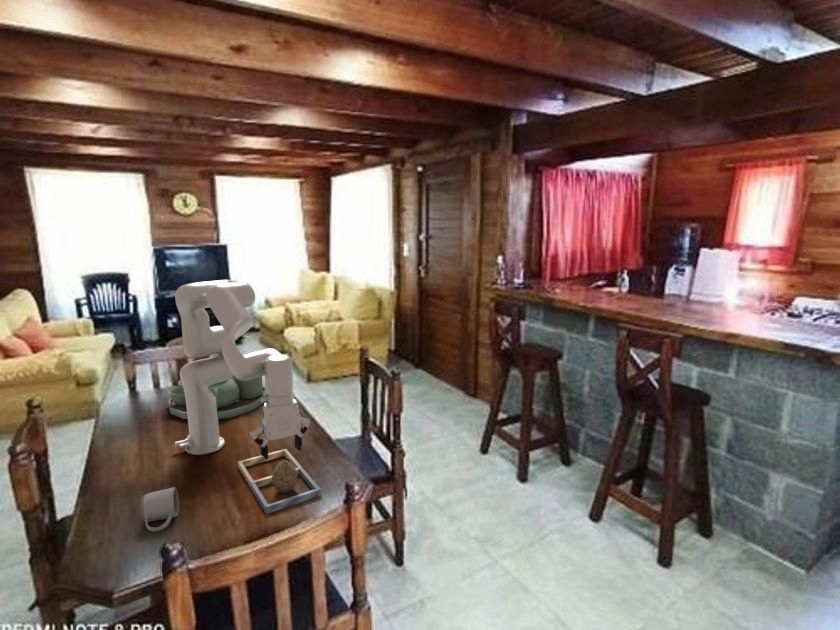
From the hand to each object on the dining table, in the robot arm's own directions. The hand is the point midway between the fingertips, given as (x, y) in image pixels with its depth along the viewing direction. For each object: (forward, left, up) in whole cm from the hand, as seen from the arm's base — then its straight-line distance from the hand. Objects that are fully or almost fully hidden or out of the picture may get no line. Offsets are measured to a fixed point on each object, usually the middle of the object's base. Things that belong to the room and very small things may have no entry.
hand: (281, 452), depth 140 cm
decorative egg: (0, 0, -13) cm, 13 cm away
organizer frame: (0, +7, -12) cm, 14 cm away
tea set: (-1, +83, -13) cm, 84 cm away
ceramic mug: (-32, +5, -13) cm, 35 cm away
